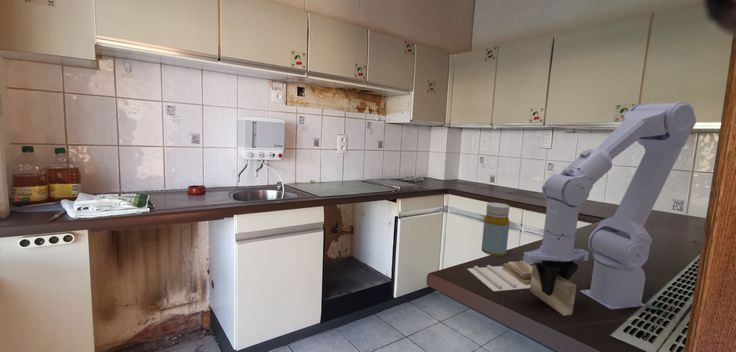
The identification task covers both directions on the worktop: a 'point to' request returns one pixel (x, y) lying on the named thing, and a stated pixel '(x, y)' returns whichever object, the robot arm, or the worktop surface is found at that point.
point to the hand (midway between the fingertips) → (551, 292)
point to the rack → (497, 278)
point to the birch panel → (555, 293)
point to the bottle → (496, 229)
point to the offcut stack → (519, 271)
